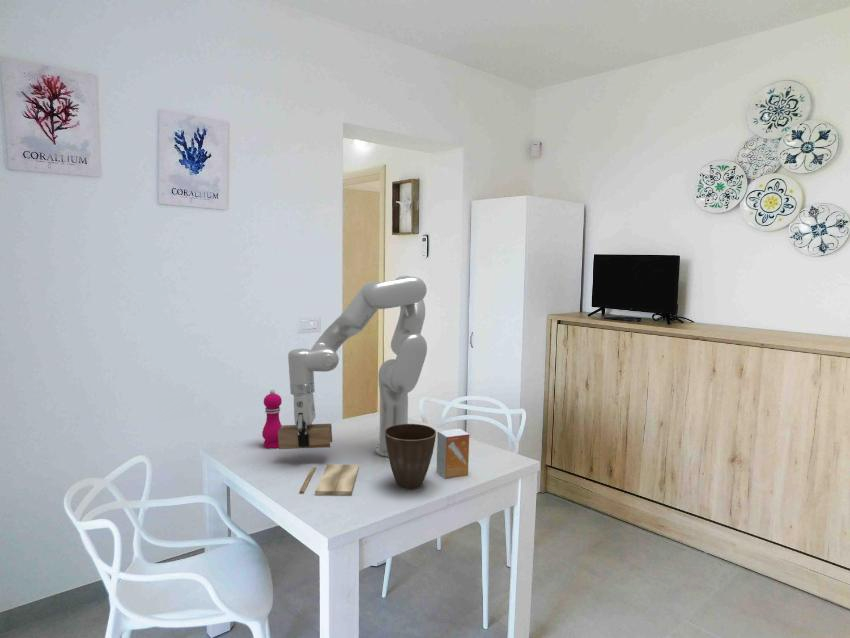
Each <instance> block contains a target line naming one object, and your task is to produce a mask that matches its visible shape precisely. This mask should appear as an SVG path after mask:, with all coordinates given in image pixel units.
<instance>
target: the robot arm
mask: <svg viewBox="0 0 850 638" xmlns="http://www.w3.org/2000/svg"><path fill="white" fill-rule="evenodd" d="M426 295H427V285H426V283H425V282H424V280H423V279H421V278H420V277H416V276H409V275H402V276H401V275H400V276H398V277H396V278H395V279H394V280H390V281H381V282H380V281H376V280H375V281H369V282H366V283H365V284H364V285H363V286H362V287H361V288H360V290H359V291H358V293H356V295H355V296H354V298H353V299H352V300H351V301H350V303H349V304H348V305H347V306H346V308H345V309H344V311H342V313H341V314H340V315H339V316H338V317H337V318H336V319H335V320H334V321H333V322H332V323H331V324H330V325H329V326H328V327H327V328H326V329H325V330H324V331H323V333H322V334H321V335H320V336H319V338H318V339H317V341H316V342H315V343H314V345H313V346H312V348H311V350H310V349H309V348H294V349H291V350H290V351H289V353H288V354H287V355H288V356H287V359H288V374H289V389H290V391H289V392H290V395H292V396H293V414H294V415H293V416H294V425H296V426H298V444H299V447H308V446H309V436H308V434H307V425H311V424H313V422H314V420H316V407H315V398H314V393H315V391H316V390H315V389H316V388H315V374H314V372H322V373H323V372H331V371H333V370H335V369H336V368H337V367H338V364H339V361H340V358H339V355H338V353H337V351H338V350H339V349H340V347H341V346H342V345H343V344H344V343H345V342H346V341H347V340H349V339H350V338H351V337H354V336H356V335H358V334H359V333H361V332H362V331H364V329H365V328H366V326H367V325H368V324H369V322H370V321H371V320H372V318H373V317H374V316H375V314H376V313H377V311H378V310H386V309H392V308H398V307H399V308H400V309H399V317H398V321H397V323H396V326H395V329H394V332H393V335H392V339H391V341H390V349H391V351H392V352H393V354H395V355H396V357H395V359H394V358H393V359H391V358H390V359H388V360H385V361H384V362H383V363H382V364H381V365H380V367H379V368H378V369H379V370H378V377H377V378H378V388H379V444H377V445H376V446H374V452H375V454H376V455H379V456H382V457H386V458H387V457H388V452H387V446H386V439H385V430H386V429H387V428H389V427H391V426H394V425H399V424H409V423H408V419H409V413H408V412H409V411H408V410H409V396H408V393H410V392H411V391H413V390H414V389H415V387H416V386H417V385H418V382H419V379H420V376H421V373H422V369H423V367H424V363H425V360H426V356H427V353H428V343H427V341H426V339H425V338H424V336H423V335H422V334H421V333H422V330H423V325H424V322H425V318H426V305H425V301H424V299H425V297H426ZM303 427H305V429H304V428H303ZM388 458H389V457H388Z"/></svg>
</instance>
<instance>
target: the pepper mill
mask: <svg viewBox="0 0 850 638" xmlns="http://www.w3.org/2000/svg"><path fill="white" fill-rule="evenodd" d="M263 405H264V407H265V408H264V409H265V414H266V420H265V424H264V426H263V428H262V433H261V437H262V439H264V440H263V447H264V448H265V447H266V448H265V449H269V448H274V449H279V440H278V430H279V429H280V428H281V426H282V423H281V421H280V412H281V407H280V406H281V405H282V397H281V396H280V395H279V394H278V393H276V391H275V389H270V391H269V393H268V394H267V395H266V396H265V397H264V398H263Z"/></svg>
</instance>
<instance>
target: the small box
mask: <svg viewBox="0 0 850 638" xmlns="http://www.w3.org/2000/svg"><path fill="white" fill-rule="evenodd" d="M436 437H437V439H436V473H438V474H439V475H441V477H442V478H444V479H449V478H455V476H456V477H462V475H463V476H468V475H469V461H470V460H469V456H470V454H469V453H470V433H468V432H466V431H465V430H464V429H461V428H455V429H445V430H437V431H436Z"/></svg>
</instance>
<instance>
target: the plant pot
mask: <svg viewBox="0 0 850 638" xmlns="http://www.w3.org/2000/svg"><path fill="white" fill-rule="evenodd" d="M436 437H437V431H436V429H435V428H433V427H432V426H429V425H425V424H418V423H408V424H399V425H394V426H391V427H389V428H387V429H386V430H385V439H386V446H387V452H388V461H389V464H390V465H389V466H390V468H391V471H392V475H393V478H394V481H395V483H396V486H397V487H399V488H400V489H403V490H415V489H419V488H421V487H422V485H423V483H424V481H425V478H426V476H427V473H428V470H429V467H430V465H431V461H432V457H433V454H434V450H435V449H434V448H435V443H436Z"/></svg>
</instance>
